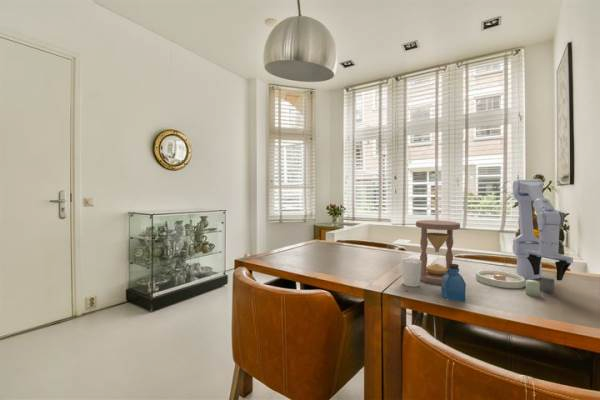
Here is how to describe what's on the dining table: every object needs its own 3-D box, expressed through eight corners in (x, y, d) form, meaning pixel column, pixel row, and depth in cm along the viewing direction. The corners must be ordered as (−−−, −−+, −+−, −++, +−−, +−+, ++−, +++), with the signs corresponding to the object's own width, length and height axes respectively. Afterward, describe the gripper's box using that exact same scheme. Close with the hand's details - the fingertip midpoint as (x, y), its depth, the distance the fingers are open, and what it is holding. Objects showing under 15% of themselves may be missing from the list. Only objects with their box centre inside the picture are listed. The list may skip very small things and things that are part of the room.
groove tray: (493, 273, 136) (493, 268, 136) (534, 285, 120) (534, 279, 120) (467, 277, 130) (467, 272, 130) (506, 290, 114) (506, 284, 114)
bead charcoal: (544, 289, 116) (544, 276, 115) (556, 292, 112) (556, 279, 112) (538, 290, 114) (538, 277, 114) (549, 293, 110) (550, 280, 110)
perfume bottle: (465, 301, 103) (466, 267, 103) (446, 299, 105) (447, 266, 104) (459, 294, 109) (460, 263, 109) (441, 293, 111) (442, 262, 110)
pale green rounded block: (529, 292, 112) (530, 279, 112) (541, 295, 108) (542, 282, 108) (523, 293, 111) (523, 280, 111) (534, 297, 107) (535, 283, 107)
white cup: (421, 282, 123) (422, 259, 123) (420, 288, 116) (421, 263, 116) (402, 280, 127) (402, 257, 126) (400, 285, 119) (400, 261, 119)
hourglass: (445, 272, 138) (446, 220, 137) (467, 284, 120) (469, 224, 119) (408, 272, 138) (409, 220, 137) (425, 285, 120) (426, 224, 119)
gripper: (521, 239, 117) (520, 273, 118) (565, 246, 104) (564, 284, 104) (532, 238, 120) (531, 271, 120) (577, 245, 107) (575, 281, 107)
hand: (547, 277), depth 113 cm, fingers open, 7 cm apart
